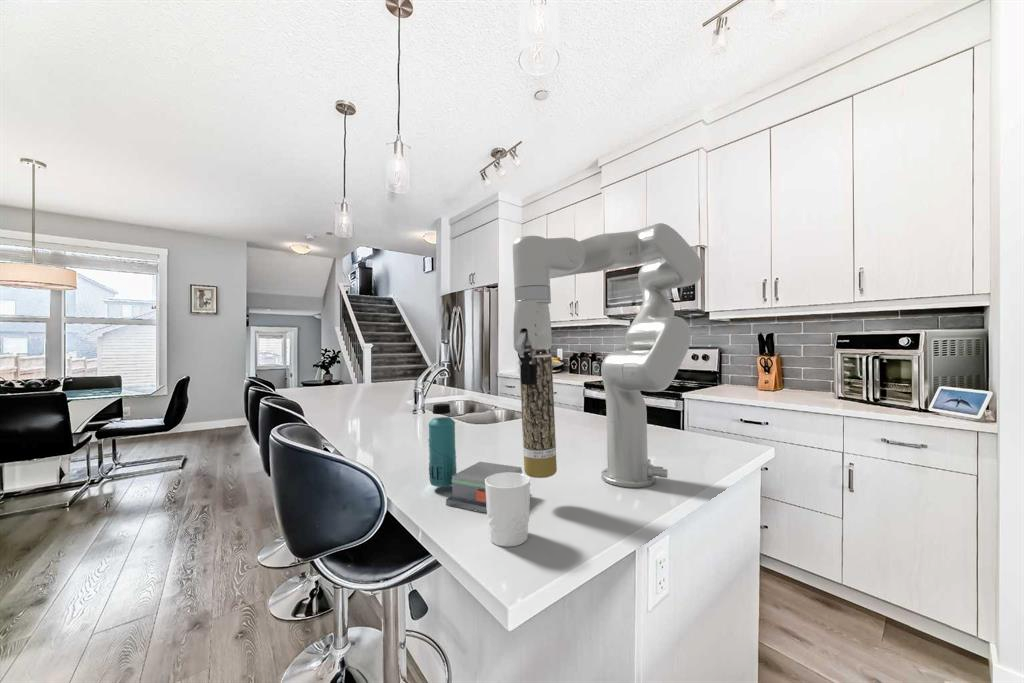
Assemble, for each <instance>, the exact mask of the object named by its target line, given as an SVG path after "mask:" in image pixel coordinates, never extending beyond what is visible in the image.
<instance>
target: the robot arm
mask: <svg viewBox="0 0 1024 683" xmlns="http://www.w3.org/2000/svg"><path fill="white" fill-rule="evenodd" d="M512 262H513V264H512V266H513V267H512V268H513V285H514V286H513V287H514V311H513V312H514V313H513V349H514V350H515V351H516V353H517V357H518V360H519V361H518V363H519V364H520V365H519V364H518V365H519V368H520V367H521V384H523V385H535V384H536V383H537V377H536V364H534V359H535V354H546V353H549V354H552V353H551V349H552V345H553V342H552V341H553V340H552V339H553V336H552V325H551V323H552V322H551V314H550V313H551V312H550V307H549V306H550V305H549V304H552V297H551V296H552V294H551V279H556V278H562V277H568V276H573V275H574V276H575V275H579V274H580V275H581V274H587V273H588V274H589V273H597V272H603V271H609V270H613V269H614V270H615V269H619V268H624V267H625V268H626V267H633V266H637V265H642V264H643V265H642V266H641V267H640V268H639V271H638V273H637V274H638V275H637V276H638V277H637V280H638V285H639V288H640V293H641V298H642V303H641V306H640V309H639V310H638V312H637V314H636V315H635V317H634V318H633V321H632V322H631V324H630V326H629V327H628V329H627V331H626V334H625V337H624V344H625V347H626V349H625V350H623V349H621V350H615V351H612V352H610V353H608V354H607V355H606V356H605V357H604V358H603V360H602V361H601V362H602V363H601V365H600V366H601V367H600V368H601V369H600V371H601V378H602V383H603V387H604V394H605V405H606V407H605V408H606V410H605V411H606V445H607V446H606V449H607V450H606V452H607V453H606V454H607V456H606V457H607V468H605V469H603V470H602V471H601V478H602V480H603V481H605V482H606V483H608V484H611V485H614V486H618V487H624V488H643V487H649V486H651V485H653V484H654V483H655V482H656V477H659V478H664V479H667V478H668V474H669V473H668V469H667V468H664V466H655V465H654V464H651V463H652V462H651V461H652V460H651V459H649V458H648V456H649V454H648V426H647V425H648V420H647V419H648V418H647V417H648V416H647V414H648V413H647V412H648V411H647V404H646V402H645V399H644V396H643V394H642V391H643V392H649V393H651V392H652V393H657V392H659V393H660V392H662V391H665V390H666V389H668V388H669V387H670V385H672V382H673V381H674V379H675V377H676V375H677V374H678V371H679V369H680V367H681V365H682V363H683V361H684V359H685V357H686V355H687V353H688V351H689V348H690V345H691V341H692V340H691V338H692V334H691V328H690V326H689V323H688V322H687V321H686V320H685V319H684V318H682V317H679V316H676V315H675V307H674V306H675V305H674V303H673V302H672V300H671V299H670V298H669V296H668V294H667V292H666V290H672V289H679V288H684V287H690V286H693V285H695V284H697V283H698V282H699V281H700V280H701V279H702V276H703V273H704V267H703V266H704V265H703V262H702V260H701V258H700V256H699V254H698V253H697V252H696V251H695V250H694V249H693V248H692V247H691V245H689V243H688V242H687V241H686V240H685V238H684V237H683V236H682V235H681V234H679V233H678V231H677V230H675V229H674V228H673V227H672V226H670V225H669V224H665V223H664V222H663V223H662V222H659V223H658V222H657V223H654V224H652V225H649V226H646V227H643V228H640V229H636V230H629V231H624V232H623V231H621V232H620V231H619V232H611V233H602V234H597V235H593V236H589V237H587V238H585V239H581V240H577V239H575V238H573V237H565V236H564V237H552V238H551V237H550V238H548V237H547V238H546V237H544V236H539V235H525V236H521V237H517V238H516V239H515V240H514V242H513V244H512ZM529 354H530V356H529Z"/></svg>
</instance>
